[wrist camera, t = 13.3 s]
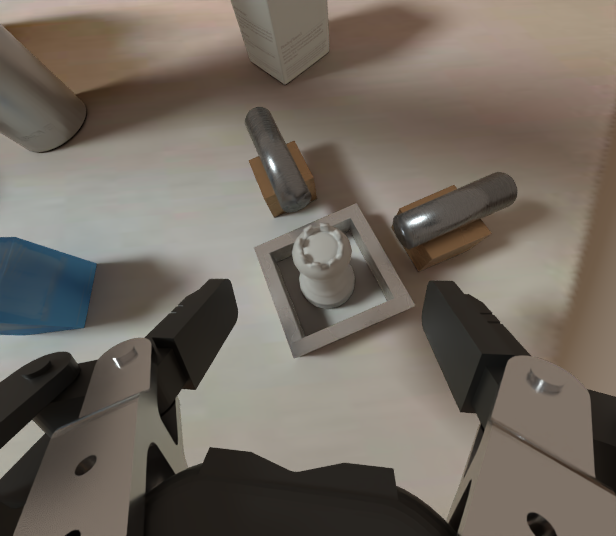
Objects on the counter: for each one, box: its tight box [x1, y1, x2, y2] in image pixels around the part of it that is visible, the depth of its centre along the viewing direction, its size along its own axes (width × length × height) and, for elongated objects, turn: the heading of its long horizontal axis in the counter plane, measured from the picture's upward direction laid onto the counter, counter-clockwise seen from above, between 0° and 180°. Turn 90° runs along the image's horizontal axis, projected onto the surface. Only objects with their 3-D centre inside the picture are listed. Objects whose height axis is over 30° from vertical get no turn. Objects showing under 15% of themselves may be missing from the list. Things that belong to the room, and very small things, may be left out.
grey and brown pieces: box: [245, 107, 517, 358], centre depth 19 cm, size 19×17×5 cm
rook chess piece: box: [292, 222, 355, 309], centre depth 16 cm, size 4×4×8 cm
